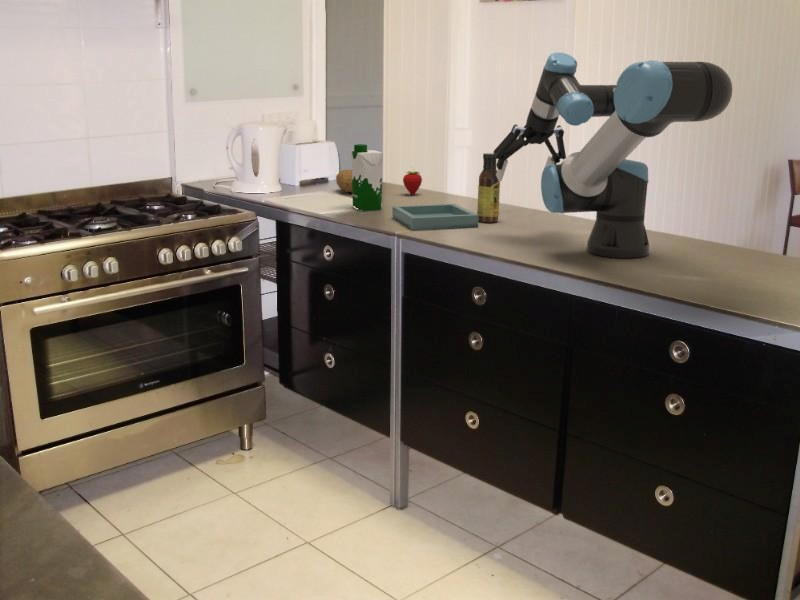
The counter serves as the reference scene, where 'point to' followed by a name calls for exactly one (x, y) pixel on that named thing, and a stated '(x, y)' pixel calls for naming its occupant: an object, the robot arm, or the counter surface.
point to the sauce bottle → (488, 191)
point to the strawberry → (412, 181)
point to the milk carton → (366, 178)
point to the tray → (434, 217)
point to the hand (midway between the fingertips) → (521, 178)
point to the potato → (345, 180)
